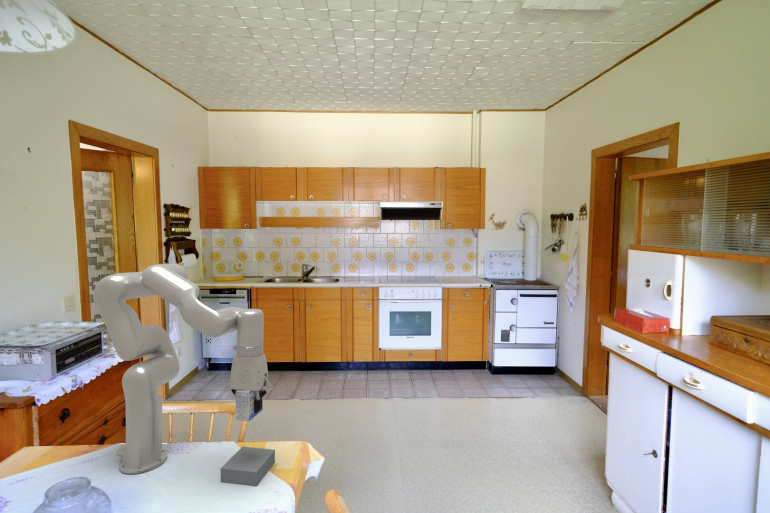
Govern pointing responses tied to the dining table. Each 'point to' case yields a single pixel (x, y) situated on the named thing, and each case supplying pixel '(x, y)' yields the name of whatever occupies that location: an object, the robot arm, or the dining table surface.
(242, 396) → the medicine box
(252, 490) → the dining table surface
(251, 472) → the base block
